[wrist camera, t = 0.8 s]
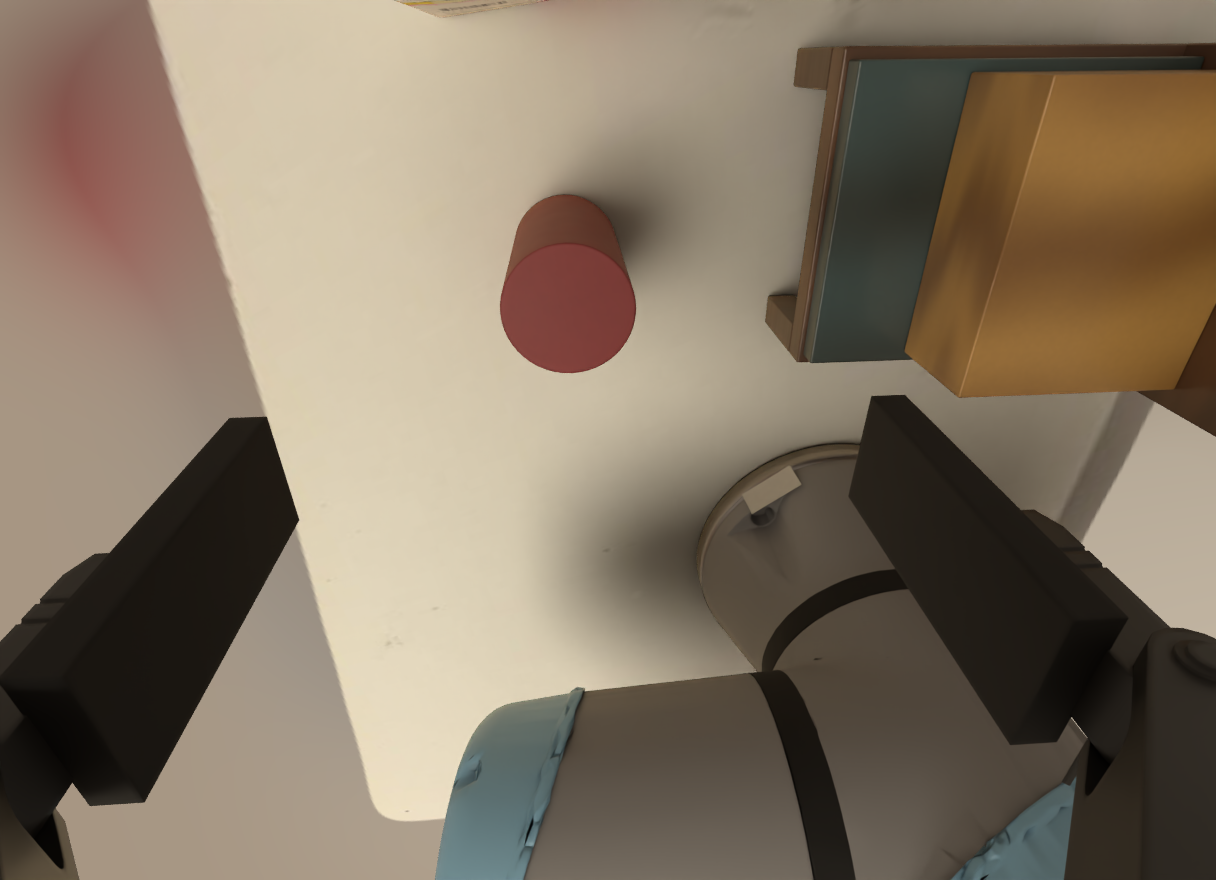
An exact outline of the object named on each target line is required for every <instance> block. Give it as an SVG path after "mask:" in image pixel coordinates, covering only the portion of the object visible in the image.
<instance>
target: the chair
mask: <svg viewBox="0 0 1216 880" xmlns="http://www.w3.org/2000/svg"><path fill="white" fill-rule="evenodd" d="M794 86H795V87H803V88H812V89H820V90H827V94H826V101H825V108H824V115H823V122H822V129H821V136H820V143H819V150H818V157H817V164H816V171H815V178H814V184H813V191H812V198H811V205H810V212H809V219H808V226H807V233H806V240H805V247H804V254H803V261H802V268H801V274H800V281H799V288H798V295H797V297H796V296H795V295H786V296H769V297H768V302H767V310H766V319H765V322H766V323H767V325H768V326H769V327H770V329H771V330H772V331H773V332H774V334H775V335H776V336H777V337H778V339H779V340H780V341H781V343H782V344H783V345H784V346H785V348H786V349H787V350H788V351H789V352H790V354H791V355H792V356H793V358H794V359H795V360H796V361H797V362H810V363H827V362H856V361H885V360H915V361H916V362H917V363H918V364H919V365H921V366H922V367H923V368H924V369H925V370H926V371H928V372H929V373H930V374H931V375H932V376H934V377H935V378H936V379H937V380H938V381H939V382H941V383H942V384H943V385H944V386H945V387H947V388H948V389H949V390H950V391H951V392H952V393H954V394H955V395H956V396H957V397H959V398H962V397H989V396H1015V395H1041V394H1068V393H1094V392H1120V391H1137V392H1139V393H1141V394H1142V395H1144V396H1146V397H1147V398H1149V399H1151V400H1153V401H1154V402H1156V403H1158V404H1160V405H1162V406H1163V407H1165V408H1167V409H1168V410H1170V411H1172V412H1174V413H1175V414H1177V415H1179V416H1181V417H1182V418H1184V419H1186V420H1188V421H1189V422H1191V423H1193V424H1195V425H1196V426H1198V427H1200V428H1201V429H1203V430H1205V431H1207V432H1208V433H1210V434H1212V435H1214V436H1216V43H1189V44H1070V45H948V46H843V47H820V48H800V49H798V54H797V62H796V70H795V79H794Z"/></svg>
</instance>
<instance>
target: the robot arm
mask: <svg viewBox="0 0 1216 880" xmlns="http://www.w3.org/2000/svg"><path fill="white" fill-rule="evenodd" d="M298 521H299V518H298V514H297V511H296V508H295V505H294V502H293V499H292V495H291V492H290V489H289V486H288V483H287V480H286V476H285V473H284V470H283V467H282V464H281V460H280V457H279V454H278V451H277V448H276V445H275V441H274V438H273V435H272V432H271V429H270V426H269V422H268V419H267V417H247V418H246V417H245V418H229V419H228V420H227V421H226V423H225V424H224V425H223V426H222V427H221V428H220V429H219V430H218V432H217V433H216V434H215V435H214V436H213V437H212V438H211V439H210V441H209V442H208V443H207V444H206V445H205V446H204V447H203V448H202V449H201V451H200V452H199V453H198V454H197V455H196V456H195V457H194V459H193V460H192V461H191V462H190V463H189V464H188V465H187V466H186V467H185V469H184V470H183V471H182V472H181V473H180V474H179V475H178V477H177V478H176V479H175V480H174V481H173V482H172V483H171V484H170V485H169V487H168V488H167V489H166V490H165V491H164V492H163V493H162V494H161V496H160V497H159V498H158V499H157V500H156V501H155V502H154V503H153V505H152V506H151V507H150V508H149V509H148V510H147V511H146V512H145V514H144V515H143V516H142V517H141V518H140V519H139V520H138V522H137V523H136V524H135V525H134V526H133V527H132V528H131V529H130V530H129V532H128V533H127V534H126V535H125V536H124V537H123V538H122V539H121V541H120V542H119V543H118V544H117V545H116V546H115V547H114V548H113V550H112V551H111V552H110V553H102V554H94V555H92V556H91V557H89V558H88V559H86V560H85V561H83V562H82V563H81V564H79V565H78V566H76V567H74V568H73V569H71V570H70V571H68V572H67V573H65V574H64V575H62V577H61V578H60V579H59V580H58V581H57V582H56V583H55V584H54V585H53V586H52V587H51V588H50V589H49V590H48V591H47V592H46V594H45V595H44V596H43V597H42V598H41V599H40V604H35V605H34V606H33V607H32V609H31V610H30V611H29V612H28V613H27V614H26V615H25V616H24V617H23V618H22V623H21V624H18V625H15V627H14V628H13V629H12V630H11V631H10V632H9V633H8V634H7V635H6V636H5V637H4V638H3V639H2V640H1V642H0V880H79V876H78V872H77V868H76V864H75V861H74V856H73V852H72V848H71V844H70V840H69V836H68V832H67V827H66V823H65V821H64V819H63V818H62V816H61V815H60V814H59V812H58V811H57V810H56V806H57V805H58V803H59V801H60V800H61V799H62V797H63V796H64V794H65V793H66V791H67V790H68V788H69V787H70V785H71V784H72V783H73V784H74V785H75V787H76V788H77V789H78V791H79V792H80V793H81V795H82V796H83V797H84V799H85V800H86V802H87V803H88V804H89V805H90V806H97V805H111V804H112V805H113V804H128V803H143V802H145V801H146V799H147V797H148V795H149V793H150V791H151V789H152V788H153V786H154V784H155V782H156V780H157V779H158V777H159V775H160V773H161V771H162V770H163V768H164V766H165V764H166V762H167V760H168V759H169V757H170V755H171V753H172V751H173V749H174V748H175V746H176V744H177V742H178V740H179V738H180V737H181V735H182V733H183V731H184V729H185V727H186V726H187V724H188V722H189V720H190V718H191V717H192V715H193V713H194V711H195V709H196V707H197V705H198V704H199V702H200V700H201V698H202V696H203V694H204V693H205V691H206V689H207V687H208V686H209V684H210V682H211V680H212V678H213V676H214V674H215V673H216V671H217V669H218V667H219V665H220V664H221V662H222V660H223V658H224V656H225V655H226V653H227V651H228V649H229V647H230V645H231V644H232V642H233V640H234V638H235V636H236V634H237V633H238V631H239V629H240V627H241V625H242V623H243V622H244V620H245V618H246V616H247V614H248V613H249V611H250V609H251V607H252V605H253V603H254V602H255V599H256V598H257V596H258V594H259V592H260V591H261V589H262V587H263V585H264V583H265V581H266V580H267V578H268V576H269V574H270V572H271V571H272V569H273V567H274V565H275V563H276V561H277V560H278V558H279V556H280V554H281V552H282V551H283V549H284V547H285V545H286V543H287V541H288V540H289V538H290V536H291V534H292V532H293V530H294V529H295V527H296V525H297V523H298ZM1084 548H1085V547H1084V546H1083V545H1082V544H1081V543H1080V542H1079V541H1078V540H1077V539H1076V538H1075V537H1074V536H1073V535H1072V534H1071V533H1070V532H1068V531H1067V530H1066V529H1065V528H1064V527H1063V526H1061V525H1060V524H1058V523H1056V522H1054V521H1053V520H1051V519H1049V518H1048V517H1046V516H1044V515H1042V514H1041V513H1039V512H1037V511H1036V510H1020V509H1019V508H1018V507H1017V506H1016V505H1015V504H1014V503H1013V502H1012V501H1011V500H1010V499H1009V498H1008V497H1007V496H1006V495H1005V494H1004V493H1003V492H1002V491H1001V490H1000V489H999V488H998V487H997V486H996V485H995V484H994V483H993V482H992V481H991V480H990V479H989V478H988V477H987V476H986V475H985V474H984V473H983V472H982V471H981V470H980V469H979V468H978V467H977V466H976V465H975V464H974V463H973V462H972V461H971V460H970V459H969V458H968V457H967V456H966V455H965V454H964V453H963V452H962V451H961V450H960V449H959V448H958V447H957V446H956V445H955V444H954V443H953V442H952V441H951V440H950V439H949V438H948V437H947V436H946V435H945V434H944V433H943V432H942V431H941V430H940V429H939V428H938V427H937V426H936V425H935V424H934V423H933V422H932V421H931V420H930V419H929V418H928V417H927V416H926V415H925V414H924V413H923V412H922V411H921V410H920V409H919V408H918V407H917V406H916V405H915V404H914V403H913V402H911V401H910V400H909V399H908V398H907V397H906V396H905V395H889V396H871V400H870V405H869V409H868V413H867V418H866V422H865V426H864V431H863V435H862V439H861V443H860V445H852V444H834V445H823V446H817V447H811V448H807V449H803V450H799V451H796V452H793V453H790V454H787V455H784V456H782V457H780V458H777V459H775V460H773V461H771V462H769V463H767V464H765V465H763V466H761V467H760V468H758V469H756V470H755V471H753V472H752V473H750V474H749V475H747V476H746V477H745V478H743V479H742V480H741V481H739V482H738V483H737V484H736V485H735V486H734V487H733V488H731V489H730V490H729V492H728V493H727V494H726V495H725V496H724V497H723V498H722V499H721V500H720V502H719V503H718V504H717V505H716V507H715V508H714V510H713V511H712V513H711V514H710V516H709V517H708V519H707V521H706V523H705V525H704V528H703V530H702V533H701V535H700V539H699V543H698V548H697V572H698V576H699V580H700V583H701V587H702V591H703V595H704V598H705V600H706V603H707V605H708V607H709V609H710V611H711V612H712V614H713V616H714V617H715V619H716V620H717V622H718V623H719V624H720V626H721V627H722V628H723V629H724V630H725V632H726V633H727V634H728V636H729V637H730V638H731V639H732V641H733V642H734V643H735V645H736V646H737V647H738V648H739V650H740V651H741V652H742V653H743V654H744V656H745V657H746V658H747V659H748V661H749V662H750V663H751V664H752V666H753V667H754V668H755V669H756V671H757V672H756V673H745V674H737V675H728V676H719V677H710V678H701V679H692V680H684V681H675V682H666V683H657V684H648V685H639V686H630V687H621V688H612V689H603V690H594V691H585V688H579V687H577V688H575V689H573V690H572V691H571V692H570V693H569V694H563V695H557V696H551V697H545V698H539V699H533V700H527V701H521V702H515V703H511V704H507V705H504V706H502V707H500V708H498V709H496V710H494V711H493V712H492V713H490V714H489V715H488V716H487V717H486V718H485V719H484V720H483V721H482V722H481V723H480V725H479V726H478V727H477V729H476V730H475V732H474V733H473V735H472V737H471V739H470V741H469V743H468V745H467V747H466V750H465V752H464V754H463V757H462V760H461V762H460V765H459V768H458V771H457V774H456V778H455V781H454V785H453V789H452V793H451V797H450V801H449V805H448V809H447V814H446V818H445V823H444V828H443V833H442V838H441V844H440V849H439V857H438V863H437V869H436V876H435V880H1216V639H1215V638H1213V637H1210V636H1208V635H1206V634H1203V633H1199V632H1195V631H1192V630H1188V629H1184V628H1170V627H1169V626H1168V625H1167V624H1166V623H1165V622H1164V621H1163V620H1162V619H1161V618H1160V617H1159V616H1158V615H1156V614H1155V613H1154V612H1153V611H1152V610H1151V609H1150V608H1149V607H1148V606H1147V605H1146V604H1145V603H1144V602H1143V601H1142V600H1141V599H1139V598H1138V597H1137V596H1136V595H1135V594H1134V593H1133V592H1132V591H1131V590H1130V589H1129V588H1128V587H1127V586H1126V585H1125V584H1123V582H1121V581H1120V580H1119V579H1118V578H1117V577H1116V576H1115V575H1114V574H1113V573H1112V572H1111V571H1110V570H1109V569H1108V568H1103V567H1102V563H1101V562H1100V561H1099V560H1098V559H1097V558H1096V557H1095V556H1094V555H1093V554H1092V553H1091V552H1090V551H1085V549H1084ZM1071 717H1072V718H1073V719H1074V721H1075V722H1076V723H1077V725H1078V726H1079V727H1080V728H1081V730H1082V731H1083V732H1084V734H1085V735H1086V736H1087V738H1086V736H1085V735H1084V734H1083V732H1082V731H1081V730H1080V729H1079V727H1078V726H1077V725H1076V724H1075V722H1074V721H1073V720H1072V719H1071Z"/></svg>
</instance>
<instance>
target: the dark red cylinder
mask: <svg viewBox="0 0 1216 880" xmlns="http://www.w3.org/2000/svg"><path fill="white" fill-rule="evenodd" d="M500 314H501V320H502V324H503V327H504V330H505V332H506V335H507V337H508V339H509V340H510V342H511V343H512V345H513V346H514V347H515V348H516V350H517V351H518V352H519V353H520V354H521V355H522V356H523V357H525V358H526V359H527V360H529V361H530V362H532V363H533V364H535V365H537V366H539V367H542V368H544V369H547V370H550V371H554V372H560V373H577V372H583V371H587V370H590V369H593V368H596V367H598V366H600V365H602V364H604V363H605V362H607V361H608V360H610V359H611V358H612V357H613V356H615V355H616V354H617V353H618V352H619V351H620V349H621V348H622V347H623V346H624V344H625V343H626V341H627V340H628V338H629V336H630V334H631V331H632V328H633V326H634V321H635V315H636V300H635V295H634V291H633V288H632V285H631V282H630V278H629V275H628V272H627V269H626V266H625V263H624V260H623V257H622V254H621V251H620V248H619V245H618V241H617V238H616V235H615V232H614V229H613V227H612V225H611V223H610V221H609V219H608V218H607V216H606V215H605V214H604V212H603V211H602V210H601V209H600V208H599V207H597V206H596V205H595V204H593V203H592V202H590V201H588V200H586V199H584V198H581V197H578V196H573V195H556V196H552V197H549V198H546V199H543V200H542V201H540V202H538V203H537V204H535V205H534V206H533V207H531V208H530V209H529V210H528V211H527V213H526V214H525V215H524V217H523V218H522V220H521V222H520V224H519V226H518V229H517V232H516V236H515V240H514V244H513V249H512V253H511V257H510V261H509V265H508V269H507V273H506V278H505V282H504V286H503V290H502V294H501V301H500Z"/></svg>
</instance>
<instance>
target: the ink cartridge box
mask: <svg viewBox="0 0 1216 880" xmlns="http://www.w3.org/2000/svg"><path fill="white" fill-rule="evenodd" d="M395 1H397V2H400V3H403V4H406V5H408V6H411V7H414V8H416V9H419V10H421V11H424V12H426V13H429V14H431V15H434V16H437V17H448V16H455V15H461V14H468V13H474V12H480V11H487V10H493V9H499V8H506V7H512V6H518V5H524V4H530V3H536V2H541V1H547V0H395Z"/></svg>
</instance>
